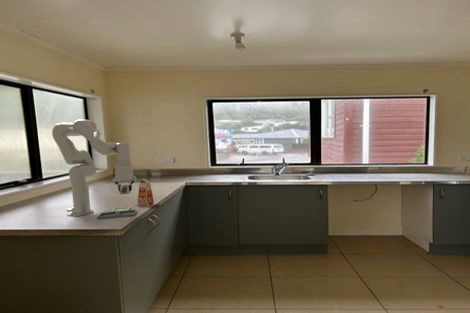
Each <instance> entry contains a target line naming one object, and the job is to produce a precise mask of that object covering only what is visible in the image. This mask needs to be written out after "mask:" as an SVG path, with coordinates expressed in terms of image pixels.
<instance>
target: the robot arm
mask: <svg viewBox="0 0 470 313" xmlns="http://www.w3.org/2000/svg"><path fill="white" fill-rule="evenodd" d="M51 134H52V135H51V136H52V138H53V141H54V142H55V143H56V145H57V146H58V149H59V151H60V153H61V155H62V157H63V159H64V161H65V163H66V164H67V165H69V166H72V167H71V168H70V169H69V170H68V177H69V181H70V184H71V191H72V192H71V194H72V204H73V206H72V207H69V208H66V212H67V213H68V212H69V213H70V212H71V213H70V215H71V216H73V217H80V216H87V215H90V214H92V213H94V209H93V208H91V201H90V199H91V198H90V187H89V183H88V181H87V180H88V179H91V178H93V177H95V176H96V174H97V168H96V166H95V163H94V161H93V159H92V157H91V155H90V153H89V151H86V150H85V149H78V148H76V146H75V144H74V141H72V140H71V139H70V138H69V137H80V136H82V137H83V138H85V139H86V140H88V141H89V145H90V146H91V148H92V149H93V150H94V151H96V152H97V153H99V154H101V155H103V156H110V155H116V160H115V161H114V164H116V165H115V170H114V177H113V178H112V179H111V182H113V183H114V184H115V185H117V188H118V189H117V190H118V192H119V193H120V186H121V185H122V182H128V185H129V192H130V193H131V191H132V189H133V184H134V183H136V181H137V180H138V178H137V177H136V176H135V175H134V171H133V166H132V164H131V154H130V144H129V142H115V141H114V142H105V141H104V140H102V139H101V138H100V137H101V134H102V133H101V132H100V130H99V129H97V124H96V123H95V121H93V120H89V119H77V120H75V121H74V122H73V123H72V122H69V123H68V122H61V123H60V122H59V123H56V124H55V125H54V126H53V128H52V132H51Z"/></svg>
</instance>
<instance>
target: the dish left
mask: <svg viewBox="0 0 470 313" xmlns="http://www.w3.org/2000/svg"><path fill="white" fill-rule="evenodd" d="M118 213H119V211H116V212H111V211H107V212H106V211H105V212H101V213H100V214H98V216H97V217H96V218H97V219H96V220H104V219H115V218H117V215H118Z"/></svg>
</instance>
